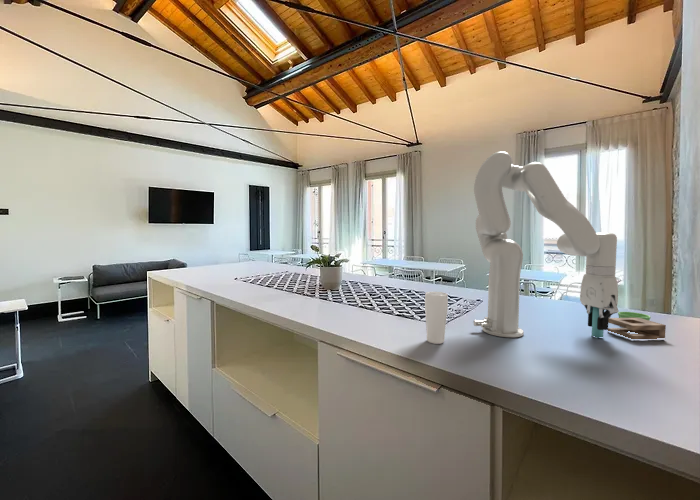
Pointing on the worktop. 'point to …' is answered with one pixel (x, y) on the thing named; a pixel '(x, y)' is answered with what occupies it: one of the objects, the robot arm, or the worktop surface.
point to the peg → (594, 323)
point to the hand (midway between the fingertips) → (597, 327)
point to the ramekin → (633, 315)
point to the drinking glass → (436, 316)
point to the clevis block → (638, 328)
